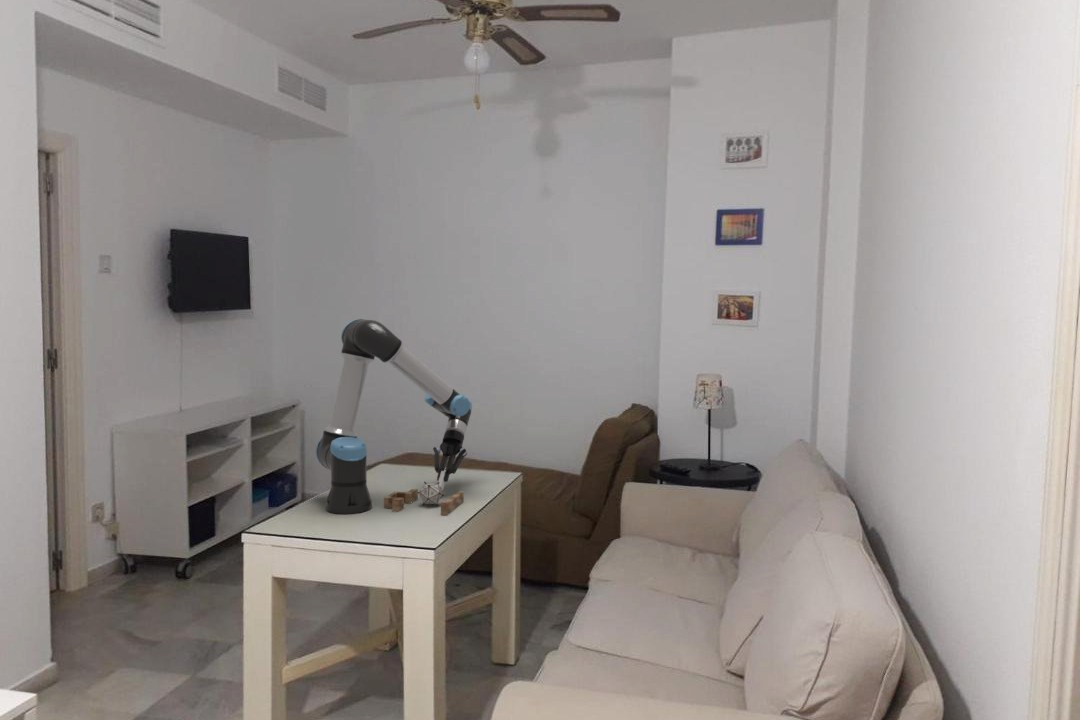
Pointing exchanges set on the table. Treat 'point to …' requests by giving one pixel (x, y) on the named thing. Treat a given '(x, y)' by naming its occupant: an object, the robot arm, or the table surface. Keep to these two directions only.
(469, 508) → the table surface
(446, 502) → the wooden blocks
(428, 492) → the game die
